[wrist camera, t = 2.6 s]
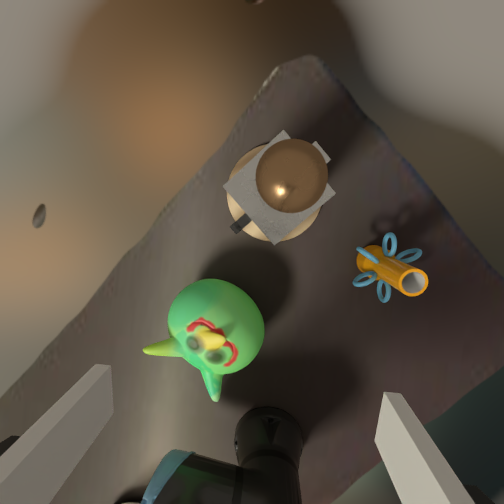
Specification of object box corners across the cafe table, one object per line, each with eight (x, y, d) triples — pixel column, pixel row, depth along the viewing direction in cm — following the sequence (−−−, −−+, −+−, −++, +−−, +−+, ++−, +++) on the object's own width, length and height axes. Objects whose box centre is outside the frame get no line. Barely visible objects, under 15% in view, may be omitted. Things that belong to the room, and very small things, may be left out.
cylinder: (347, 227, 51) (379, 237, 36) (402, 229, 50) (459, 240, 36) (341, 288, 53) (370, 321, 38) (394, 290, 53) (444, 325, 38)
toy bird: (280, 310, 55) (285, 349, 40) (228, 365, 58) (216, 419, 43) (213, 254, 53) (193, 274, 39) (163, 313, 56) (128, 351, 42)
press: (322, 187, 49) (351, 180, 32) (259, 242, 51) (255, 261, 35) (287, 145, 48) (299, 115, 31) (224, 203, 50) (204, 203, 34)
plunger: (314, 193, 35) (373, 181, 16) (274, 227, 37) (284, 256, 17) (280, 152, 35) (299, 88, 15) (241, 188, 36) (211, 172, 16)
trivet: (342, 198, 50) (343, 198, 49) (269, 259, 53) (269, 260, 52) (280, 122, 48) (280, 121, 47) (208, 190, 51) (207, 189, 50)
